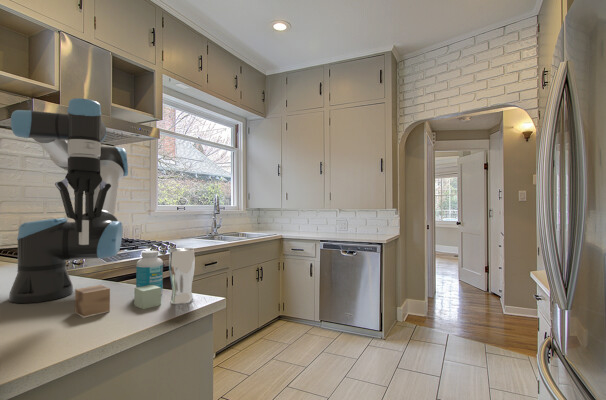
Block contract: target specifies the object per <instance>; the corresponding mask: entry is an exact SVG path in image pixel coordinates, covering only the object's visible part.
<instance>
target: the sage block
mask: <svg viewBox="0 0 606 400" xmlns="http://www.w3.org/2000/svg"><path fill="white" fill-rule="evenodd" d="M133 291H134V294H133V295H134V300H133V301H134V302H133V303H134V306H135V307H137V308H139V309H141V310H146V309H150V308H154V307H158V306H161V305H162V294H161V287H158V286H155V285H147V286H142V287H137V288H136V287H134V290H133Z"/></svg>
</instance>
